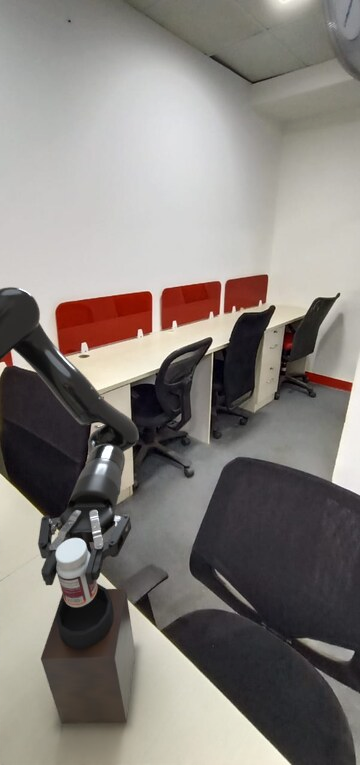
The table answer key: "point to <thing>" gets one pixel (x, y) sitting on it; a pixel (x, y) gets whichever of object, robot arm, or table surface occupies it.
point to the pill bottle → (74, 572)
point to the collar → (85, 620)
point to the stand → (93, 671)
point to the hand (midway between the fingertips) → (68, 580)
